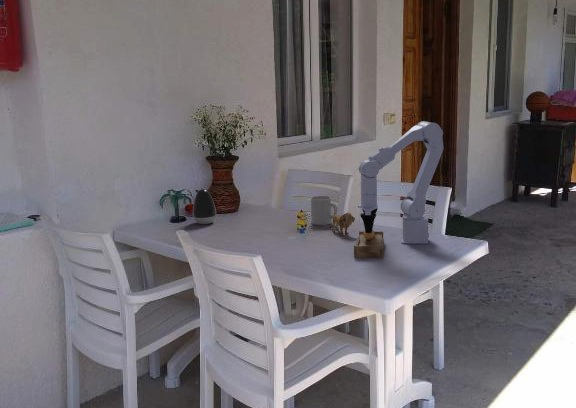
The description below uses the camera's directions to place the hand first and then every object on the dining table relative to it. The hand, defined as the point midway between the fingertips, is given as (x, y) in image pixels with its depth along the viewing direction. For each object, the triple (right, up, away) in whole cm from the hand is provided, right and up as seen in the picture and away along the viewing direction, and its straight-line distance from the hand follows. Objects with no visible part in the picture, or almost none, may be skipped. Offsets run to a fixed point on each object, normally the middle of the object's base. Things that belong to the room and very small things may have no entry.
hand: (369, 230), depth 216 cm
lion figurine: (-8, -2, +19) cm, 21 cm away
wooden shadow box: (-1, -7, -6) cm, 9 cm away
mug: (-14, +1, +35) cm, 38 cm away
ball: (0, -1, -2) cm, 2 cm away
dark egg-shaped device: (-66, +1, +44) cm, 80 cm away
